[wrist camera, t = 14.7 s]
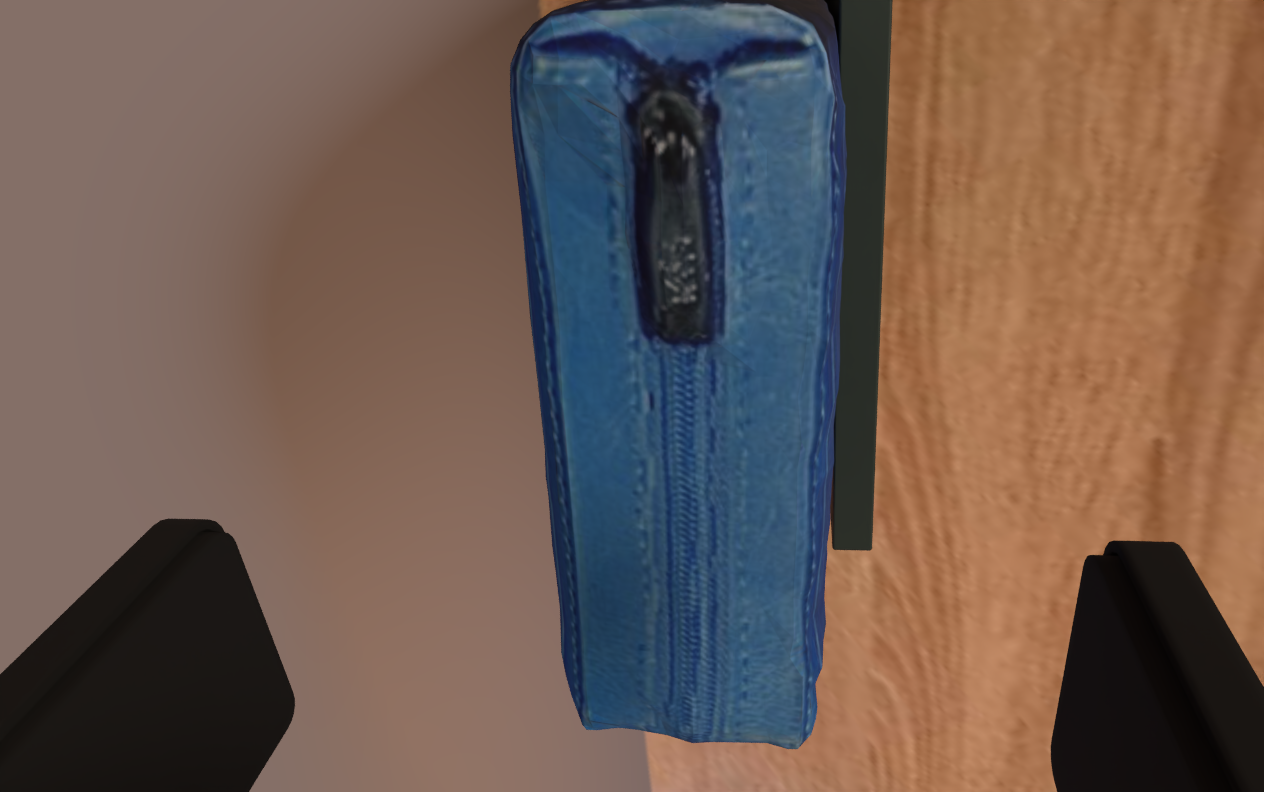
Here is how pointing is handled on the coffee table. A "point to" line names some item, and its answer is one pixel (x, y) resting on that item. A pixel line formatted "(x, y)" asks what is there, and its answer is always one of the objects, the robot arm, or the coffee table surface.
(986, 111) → the coffee table surface
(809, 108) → the blue zipper case
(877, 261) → the green l-shaped stand
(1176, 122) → the coffee table surface
